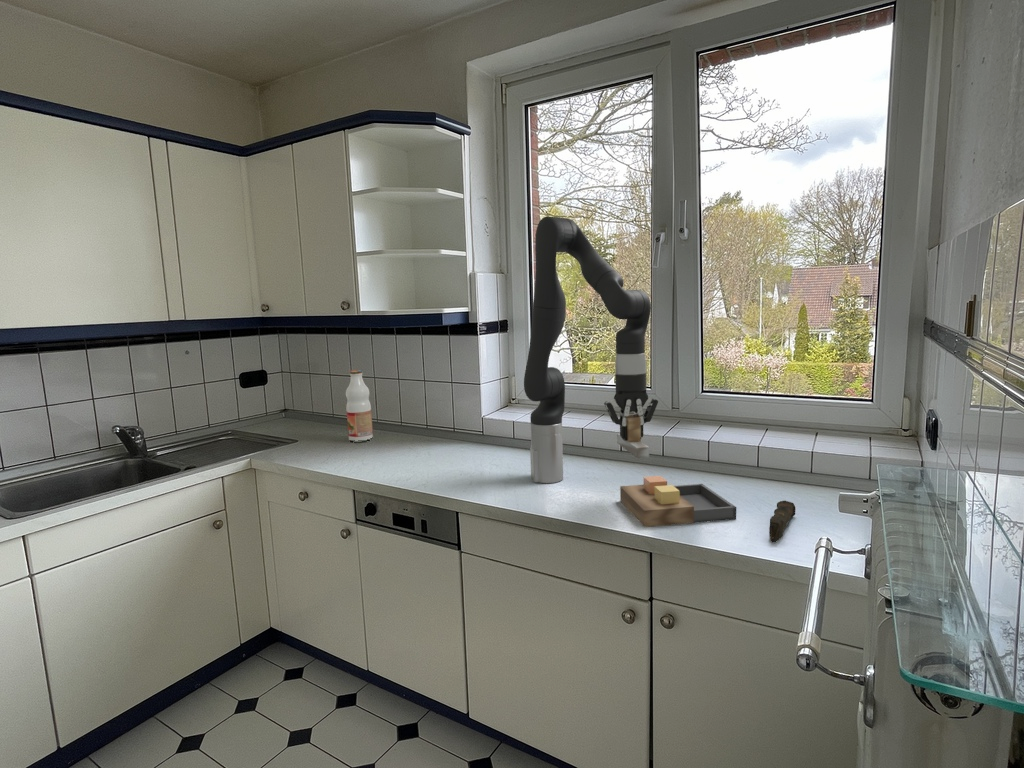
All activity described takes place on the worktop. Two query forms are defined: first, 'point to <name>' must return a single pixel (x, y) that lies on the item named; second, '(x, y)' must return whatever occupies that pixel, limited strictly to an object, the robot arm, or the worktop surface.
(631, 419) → the oak scraper
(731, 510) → the box
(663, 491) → the yellow block
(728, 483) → the worktop surface
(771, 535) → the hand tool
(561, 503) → the worktop surface
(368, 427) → the fruit juice
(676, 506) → the walnut slab
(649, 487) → the salmon orange block
